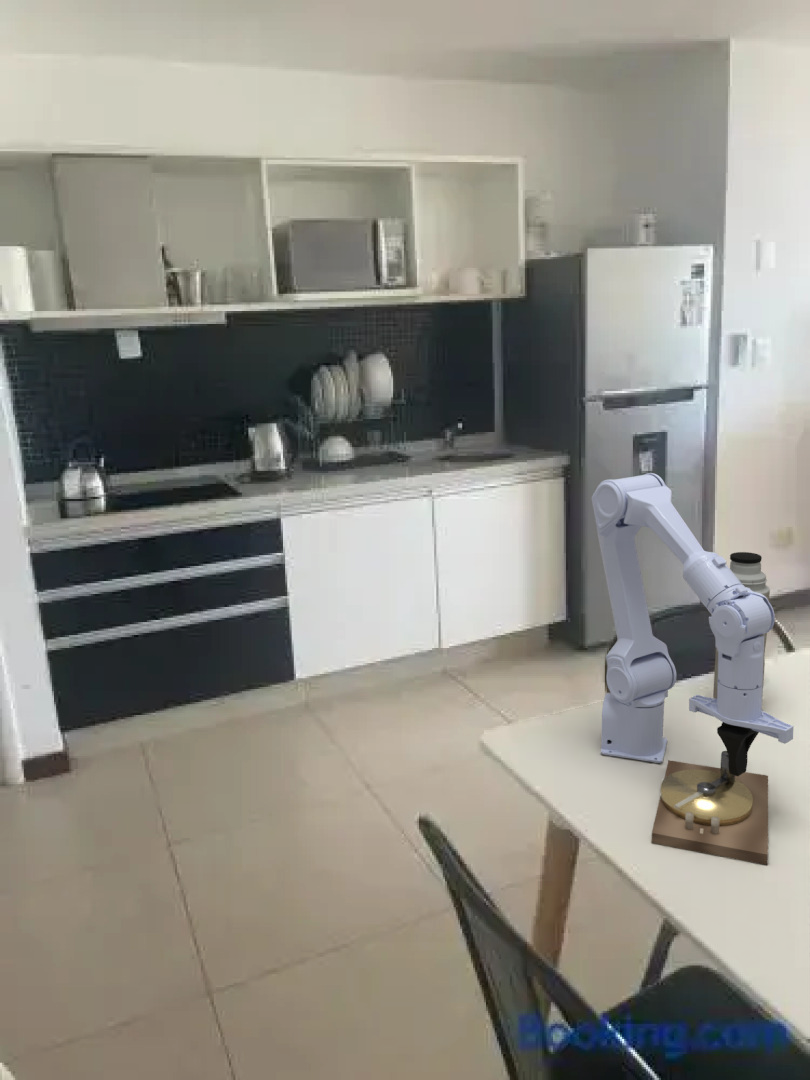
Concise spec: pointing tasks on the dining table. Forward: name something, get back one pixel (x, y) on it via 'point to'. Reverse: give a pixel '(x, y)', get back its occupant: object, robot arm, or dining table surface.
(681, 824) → the walnut stand
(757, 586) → the thermos bottle
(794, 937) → the dining table surface
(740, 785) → the dial
